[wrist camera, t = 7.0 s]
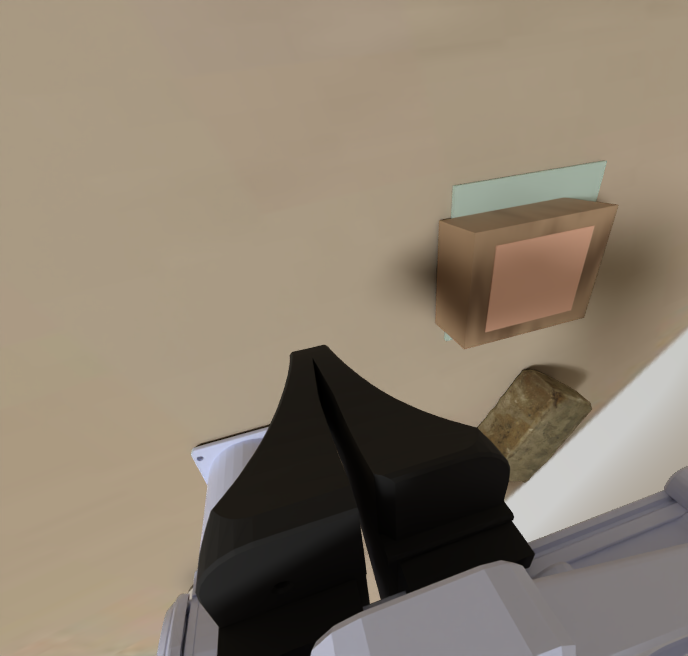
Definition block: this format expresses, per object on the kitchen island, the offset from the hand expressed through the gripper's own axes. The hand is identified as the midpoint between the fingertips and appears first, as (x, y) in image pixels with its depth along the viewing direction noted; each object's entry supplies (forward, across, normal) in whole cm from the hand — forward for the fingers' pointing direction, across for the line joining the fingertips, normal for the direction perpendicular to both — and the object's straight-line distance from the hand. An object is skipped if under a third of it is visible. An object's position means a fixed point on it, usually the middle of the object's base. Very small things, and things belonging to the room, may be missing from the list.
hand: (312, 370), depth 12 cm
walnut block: (+8, -11, +2) cm, 14 cm away
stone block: (+11, -20, +20) cm, 30 cm away
